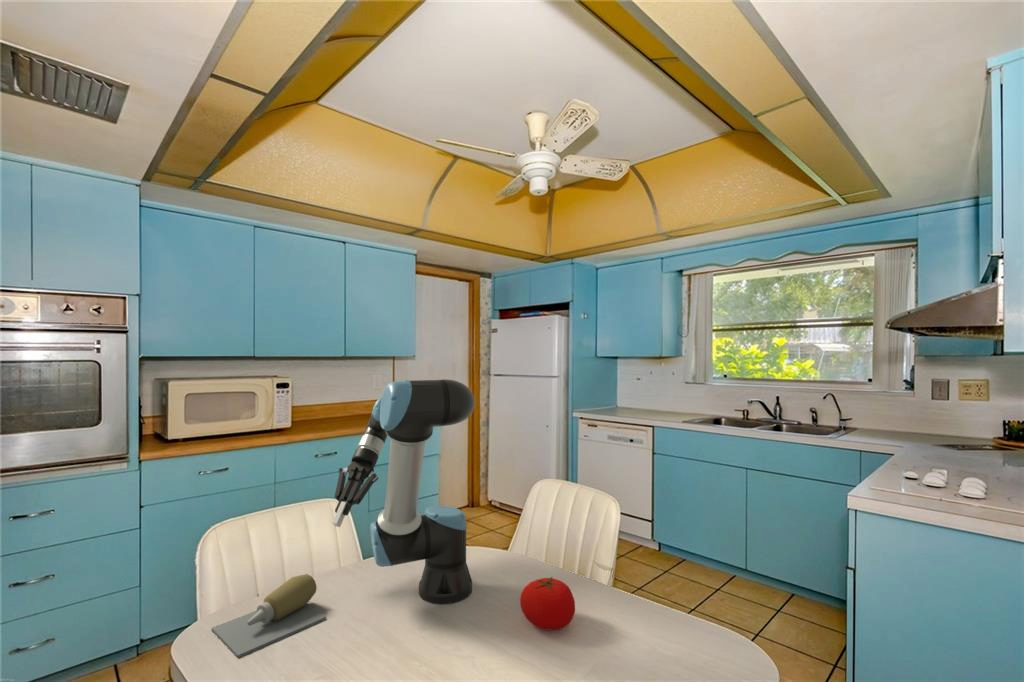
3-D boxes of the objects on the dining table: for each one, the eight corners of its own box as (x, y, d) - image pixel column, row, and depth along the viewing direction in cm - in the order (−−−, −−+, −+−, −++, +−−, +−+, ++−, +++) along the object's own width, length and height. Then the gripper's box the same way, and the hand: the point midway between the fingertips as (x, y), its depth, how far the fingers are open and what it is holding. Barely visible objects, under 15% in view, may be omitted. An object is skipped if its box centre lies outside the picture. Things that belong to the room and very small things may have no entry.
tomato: (586, 623, 125) (586, 582, 125) (554, 646, 116) (554, 601, 116) (542, 603, 135) (542, 565, 135) (510, 622, 126) (510, 581, 126)
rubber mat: (325, 619, 127) (325, 616, 127) (237, 658, 111) (237, 655, 111) (295, 597, 138) (295, 595, 138) (211, 630, 122) (211, 627, 122)
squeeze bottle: (316, 569, 134) (256, 607, 118) (322, 599, 134) (263, 641, 118) (296, 569, 137) (235, 605, 121) (302, 598, 137) (241, 638, 121)
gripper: (390, 460, 160) (360, 533, 145) (353, 455, 163) (321, 526, 148) (382, 449, 154) (351, 523, 139) (345, 443, 157) (310, 516, 142)
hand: (336, 524), depth 144 cm, fingers closed
